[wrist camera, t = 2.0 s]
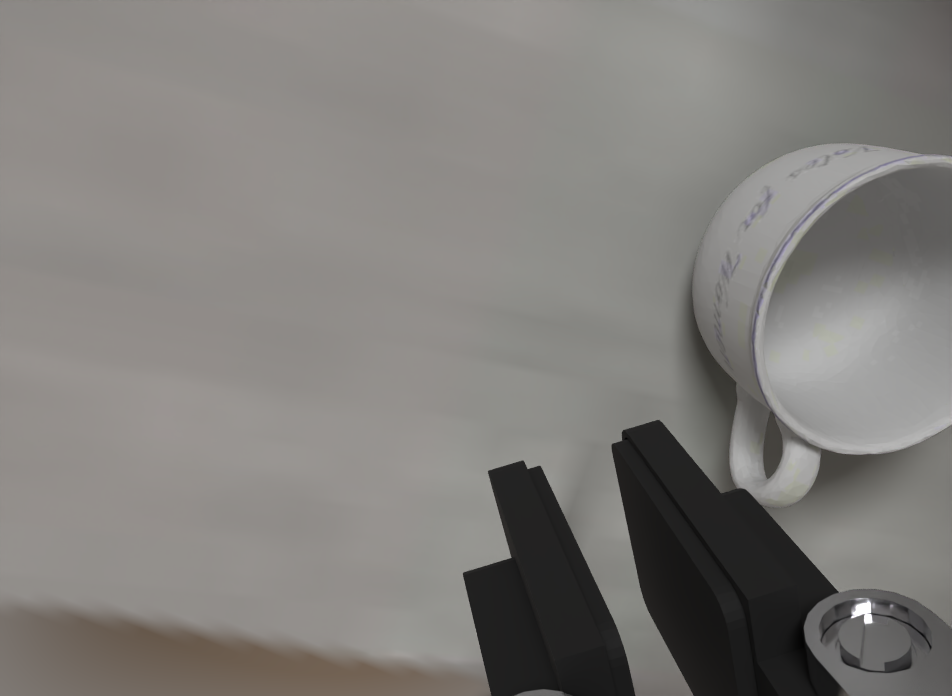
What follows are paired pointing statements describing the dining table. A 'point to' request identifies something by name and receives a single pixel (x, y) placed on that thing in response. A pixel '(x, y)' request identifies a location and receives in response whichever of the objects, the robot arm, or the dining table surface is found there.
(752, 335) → the teacup
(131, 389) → the dining table surface
